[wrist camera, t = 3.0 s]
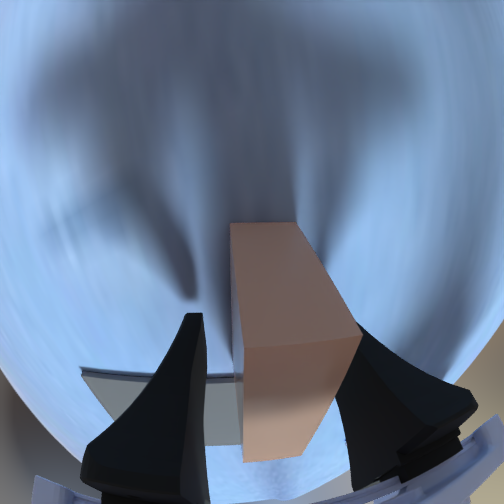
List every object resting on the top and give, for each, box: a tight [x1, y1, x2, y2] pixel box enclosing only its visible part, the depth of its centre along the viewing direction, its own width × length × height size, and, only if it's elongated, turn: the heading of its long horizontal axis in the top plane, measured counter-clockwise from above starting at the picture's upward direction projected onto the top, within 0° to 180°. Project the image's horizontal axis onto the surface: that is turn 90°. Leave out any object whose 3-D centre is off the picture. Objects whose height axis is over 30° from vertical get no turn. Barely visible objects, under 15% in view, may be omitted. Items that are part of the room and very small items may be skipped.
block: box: [230, 222, 363, 463], centre depth 10 cm, size 3×8×6 cm, turn 178°
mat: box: [81, 371, 241, 446], centre depth 17 cm, size 11×11×1 cm
